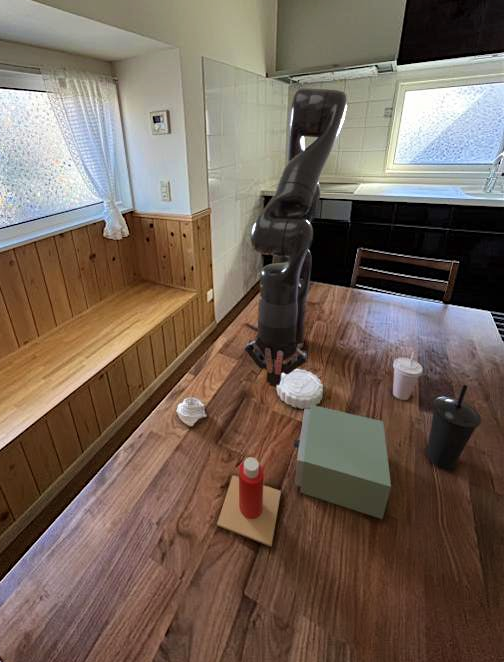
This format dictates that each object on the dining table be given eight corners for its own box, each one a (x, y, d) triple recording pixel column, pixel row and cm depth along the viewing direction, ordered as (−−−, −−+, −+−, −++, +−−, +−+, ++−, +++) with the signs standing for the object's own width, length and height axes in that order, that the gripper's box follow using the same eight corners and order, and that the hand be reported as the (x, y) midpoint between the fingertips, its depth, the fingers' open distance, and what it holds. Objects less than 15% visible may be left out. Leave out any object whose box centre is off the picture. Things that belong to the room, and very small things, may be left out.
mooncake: (291, 371, 99) (292, 361, 97) (330, 391, 91) (331, 380, 89) (267, 393, 91) (268, 382, 90) (307, 417, 83) (308, 406, 82)
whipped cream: (172, 417, 86) (168, 403, 84) (190, 400, 90) (186, 386, 88) (194, 432, 81) (191, 417, 79) (212, 413, 85) (209, 399, 83)
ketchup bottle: (234, 507, 64) (233, 464, 59) (248, 490, 67) (249, 448, 62) (252, 524, 61) (253, 481, 56) (267, 506, 64) (269, 463, 59)
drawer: (288, 482, 67) (290, 457, 64) (296, 430, 79) (299, 406, 76) (369, 508, 62) (375, 482, 59) (365, 448, 74) (370, 423, 71)
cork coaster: (217, 525, 62) (216, 524, 61) (232, 476, 70) (232, 474, 70) (271, 547, 58) (271, 545, 58) (281, 492, 67) (281, 490, 66)
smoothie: (418, 405, 85) (431, 360, 79) (391, 402, 86) (401, 358, 80) (409, 387, 90) (420, 344, 85) (384, 384, 92) (393, 342, 86)
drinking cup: (411, 445, 75) (431, 374, 67) (443, 441, 75) (468, 370, 67) (436, 477, 68) (462, 403, 60) (471, 473, 68) (502, 398, 60)
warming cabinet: (300, 492, 66) (303, 461, 63) (307, 433, 79) (310, 404, 75) (382, 519, 61) (391, 486, 58) (376, 451, 74) (383, 421, 70)
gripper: (239, 320, 65) (239, 388, 72) (310, 332, 60) (303, 404, 68) (249, 302, 71) (248, 366, 79) (314, 311, 67) (307, 379, 74)
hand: (273, 383), depth 73 cm, fingers closed
